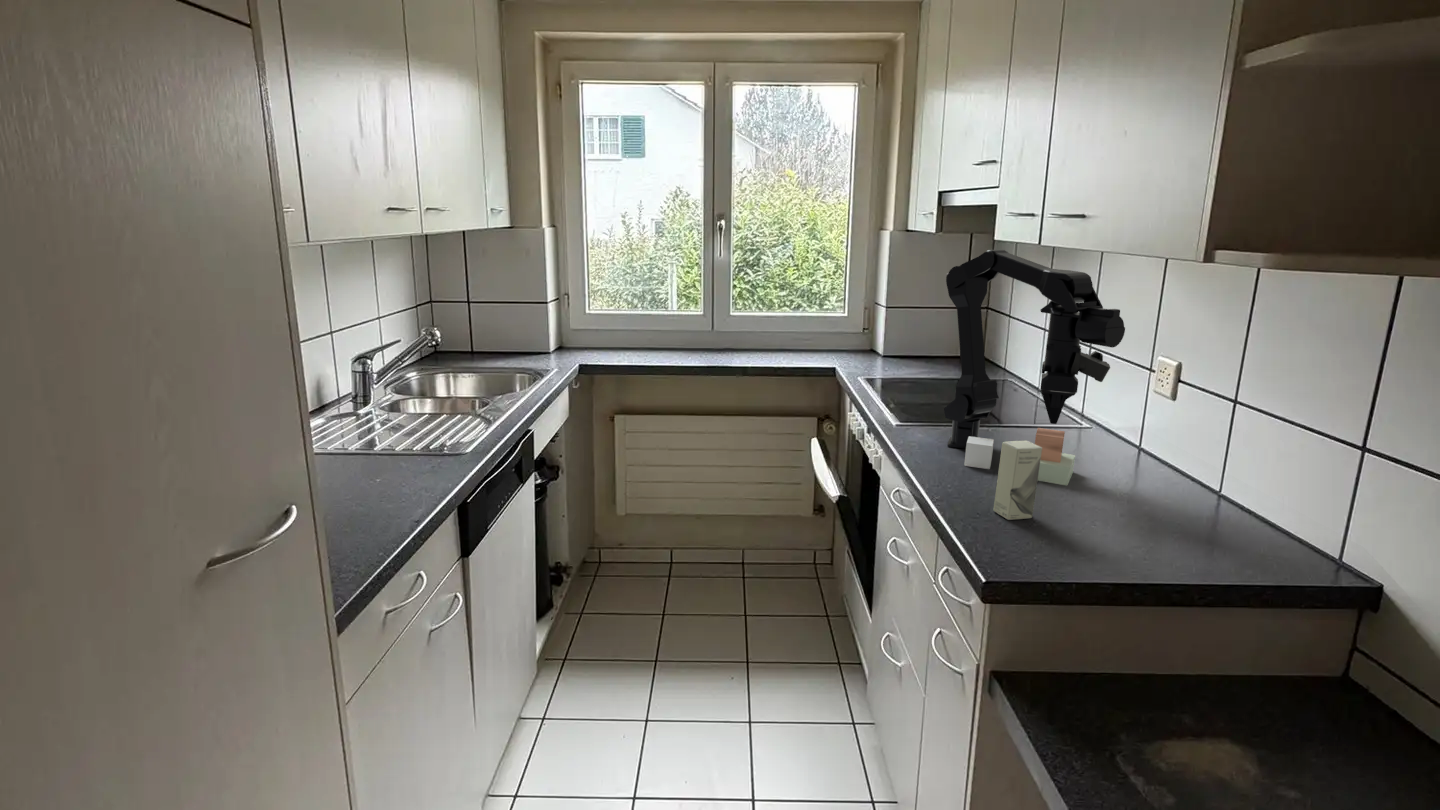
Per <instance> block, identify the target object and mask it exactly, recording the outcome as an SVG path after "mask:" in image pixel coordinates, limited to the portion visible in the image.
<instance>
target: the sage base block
mask: <svg viewBox="0 0 1440 810" xmlns="http://www.w3.org/2000/svg"><path fill="white" fill-rule="evenodd" d="M1075 460H1076V455H1074V454H1070V453H1063V452H1062V455H1061V461H1060V463H1059V462H1052V461H1046V460H1040V467H1039V473H1038V481H1039V482H1045V483H1050V484H1056V485H1061V486H1068V485H1069V483H1070V481H1071V478H1072V476H1073V472H1074V466H1075ZM1038 481H1037V482H1038Z"/></svg>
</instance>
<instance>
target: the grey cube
mask: <svg viewBox="0 0 1440 810" xmlns="http://www.w3.org/2000/svg"><path fill="white" fill-rule="evenodd" d="M994 442H995V439H994V438H986V437H985V438H984V437H980V436H978V437H971V436H969V437H968V440H967V444H966V449H965V454H964V465H963V466H965V467H972V468H979V469H985V470H990V469H991V465H992V458H993V452H994V444H995V443H994Z"/></svg>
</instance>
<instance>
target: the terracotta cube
mask: <svg viewBox="0 0 1440 810" xmlns="http://www.w3.org/2000/svg"><path fill="white" fill-rule="evenodd" d="M1065 433H1066V431H1064V430H1058V429H1057V430H1056V429H1049V428H1043V427H1042V428H1041V427H1037V430H1036V434H1035V440H1034V444H1035V445H1038V446H1040V447H1042V453H1041V460H1046V461H1052V462H1059V463H1060V461H1061V455H1062V453H1063V447H1064V440H1065Z"/></svg>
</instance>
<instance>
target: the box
mask: <svg viewBox="0 0 1440 810" xmlns="http://www.w3.org/2000/svg"><path fill="white" fill-rule="evenodd" d="M1000 451H1001V452H1000V456H999V457H1000V459H999V465H998V472H997V473H998V474H997V481H996V488H995V495H994V500H993V501H994V502H993V509H992V510H993V512H995V513H996V514H997V515H1000V516H1001V517H1002V518H1005V519H1006V520H1008V521H1011V520H1013V521H1014V520H1023V519H1024V520H1025V519H1026V520H1027V519H1032V518H1033V514H1034V507H1035V502H1036V501H1035V500H1036V494H1037V493H1036V492H1037V487H1038V486H1037V485H1038V473H1039V467H1040V460H1041V453H1042V447H1040V446H1038V445H1035V443H1033V442H1032V441H1029V440H1012V441H1011V440H1010V441H1003V442H1002V444H1001V450H1000Z"/></svg>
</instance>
